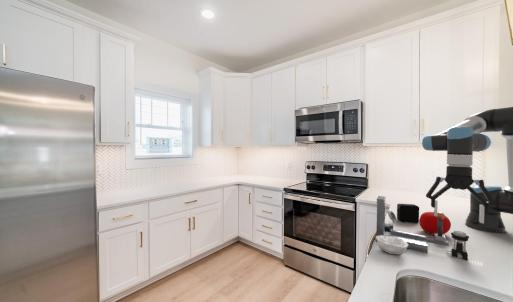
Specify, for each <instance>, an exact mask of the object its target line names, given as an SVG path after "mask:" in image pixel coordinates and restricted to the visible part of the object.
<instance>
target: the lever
mask: <svg viewBox="0 0 513 302" xmlns="http://www.w3.org/2000/svg"><path fill="white" fill-rule="evenodd" d="M445 216H446V215H445V213H443V212H441V211H439V212H438V211H437V216H436V217H437V218H438V231H437V234H436V233H435V235H434V237H433V238H435V240H439V241H444V242H446V241H447V239H446V238H447V237H446V236H445V234H443V219H444V218H445Z"/></svg>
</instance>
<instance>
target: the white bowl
mask: <svg viewBox="0 0 513 302" xmlns="http://www.w3.org/2000/svg"><path fill="white" fill-rule="evenodd" d="M375 240H377V242H376V243H377V245H378V247H379V249H381V251H384V252H386V253H388V254H389V255H402V254H403V253H405V251H406V250H408V249H407V247H408V244H407V242H406V241H404V240H401V239H399V238H397V237H392V236H384V235H379V236H375Z"/></svg>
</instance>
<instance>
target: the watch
mask: <svg viewBox="0 0 513 302" xmlns="http://www.w3.org/2000/svg"><path fill="white" fill-rule="evenodd" d="M385 212H387V214H388V217H389V219H390V221H392V224H390V223H386V222H385V231H386V232H391V230H394V225H395V223H397V222H396V221H398V219H397V215H396V213H394V212H393V211H392V210H389V209H385Z"/></svg>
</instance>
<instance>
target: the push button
mask: <svg viewBox="0 0 513 302" xmlns="http://www.w3.org/2000/svg"><path fill="white" fill-rule="evenodd" d="M450 235H451V238H452V239H453V247H452V248H451V250H445V251H446V254H447V255H451V257H453V258H457V259H459V260H460V259H461V260H465V261H468V259H469V257H468V256H469V255H468V252H467V248H466V247H467V242H468V241H469V239H470V236H469V235H467V233H466V232H464V231H460V230H453V232H451V233H450Z"/></svg>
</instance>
